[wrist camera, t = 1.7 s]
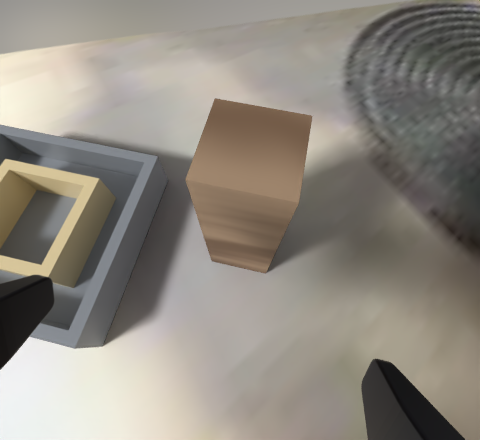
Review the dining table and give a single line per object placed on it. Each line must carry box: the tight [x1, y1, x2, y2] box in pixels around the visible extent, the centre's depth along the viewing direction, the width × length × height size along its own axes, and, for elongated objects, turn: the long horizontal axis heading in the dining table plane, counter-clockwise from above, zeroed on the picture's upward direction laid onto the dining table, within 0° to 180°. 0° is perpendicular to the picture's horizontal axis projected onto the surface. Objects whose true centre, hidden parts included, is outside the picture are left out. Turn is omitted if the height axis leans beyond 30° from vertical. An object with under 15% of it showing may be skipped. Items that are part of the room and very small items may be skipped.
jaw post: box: [185, 99, 312, 273], centre depth 16 cm, size 4×4×12 cm
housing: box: [0, 125, 168, 348], centre depth 20 cm, size 14×14×4 cm
